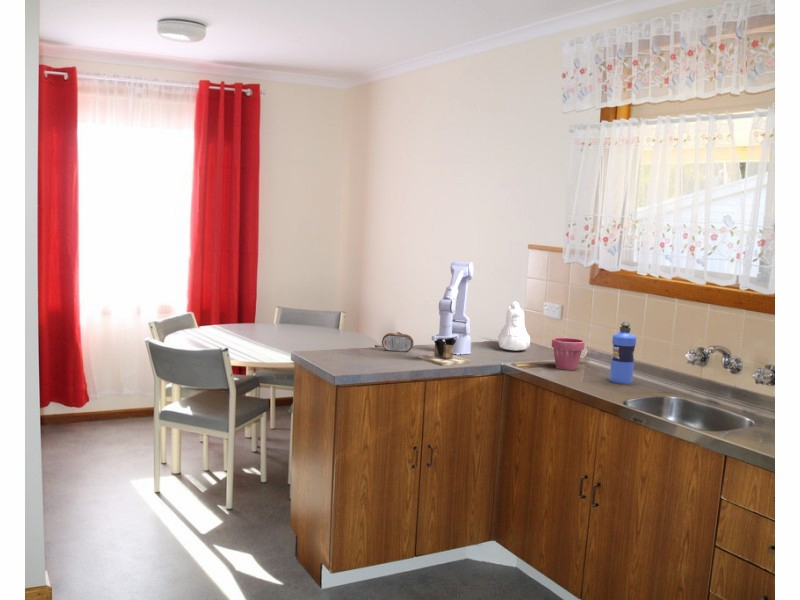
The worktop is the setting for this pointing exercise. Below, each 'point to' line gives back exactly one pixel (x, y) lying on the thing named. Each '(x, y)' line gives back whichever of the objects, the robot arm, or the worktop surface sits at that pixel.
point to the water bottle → (623, 356)
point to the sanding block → (445, 352)
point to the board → (444, 362)
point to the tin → (397, 342)
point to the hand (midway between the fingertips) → (444, 355)
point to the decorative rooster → (514, 330)
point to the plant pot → (567, 352)
